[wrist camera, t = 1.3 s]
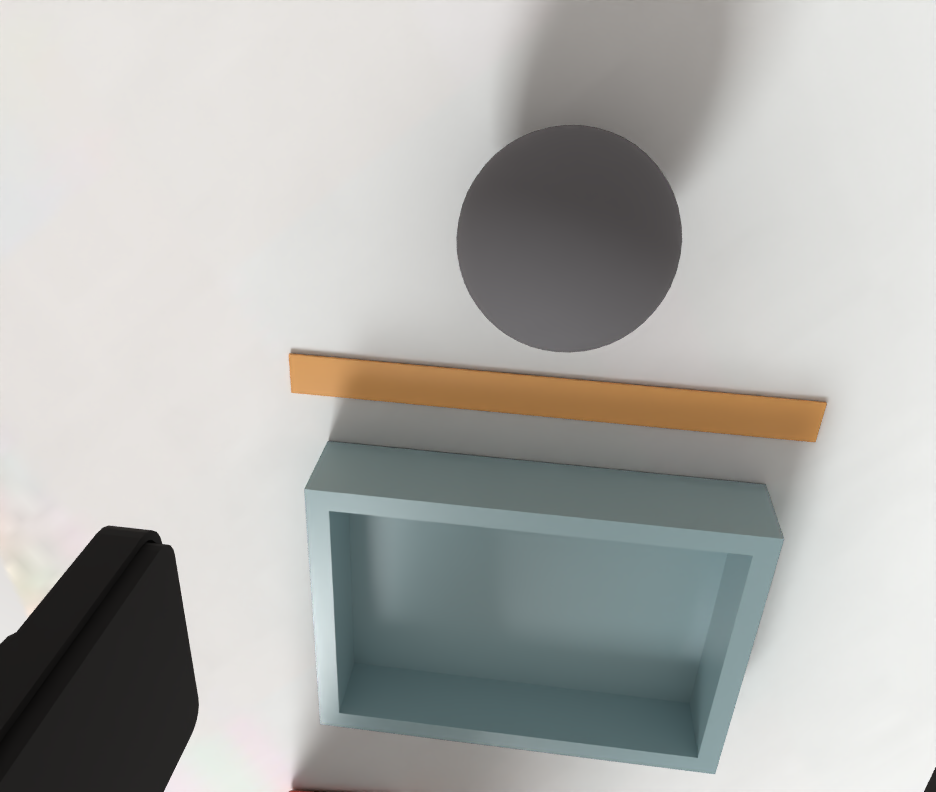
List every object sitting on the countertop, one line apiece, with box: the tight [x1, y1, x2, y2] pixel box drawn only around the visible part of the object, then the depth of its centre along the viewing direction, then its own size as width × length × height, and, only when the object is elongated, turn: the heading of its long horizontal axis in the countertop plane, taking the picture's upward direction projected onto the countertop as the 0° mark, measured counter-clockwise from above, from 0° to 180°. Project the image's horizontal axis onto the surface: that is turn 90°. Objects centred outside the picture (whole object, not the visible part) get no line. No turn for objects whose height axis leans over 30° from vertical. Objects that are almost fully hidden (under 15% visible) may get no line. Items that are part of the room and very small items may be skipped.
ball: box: [457, 125, 682, 352], centre depth 22 cm, size 6×6×6 cm
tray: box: [289, 353, 827, 774], centre depth 30 cm, size 15×18×3 cm
